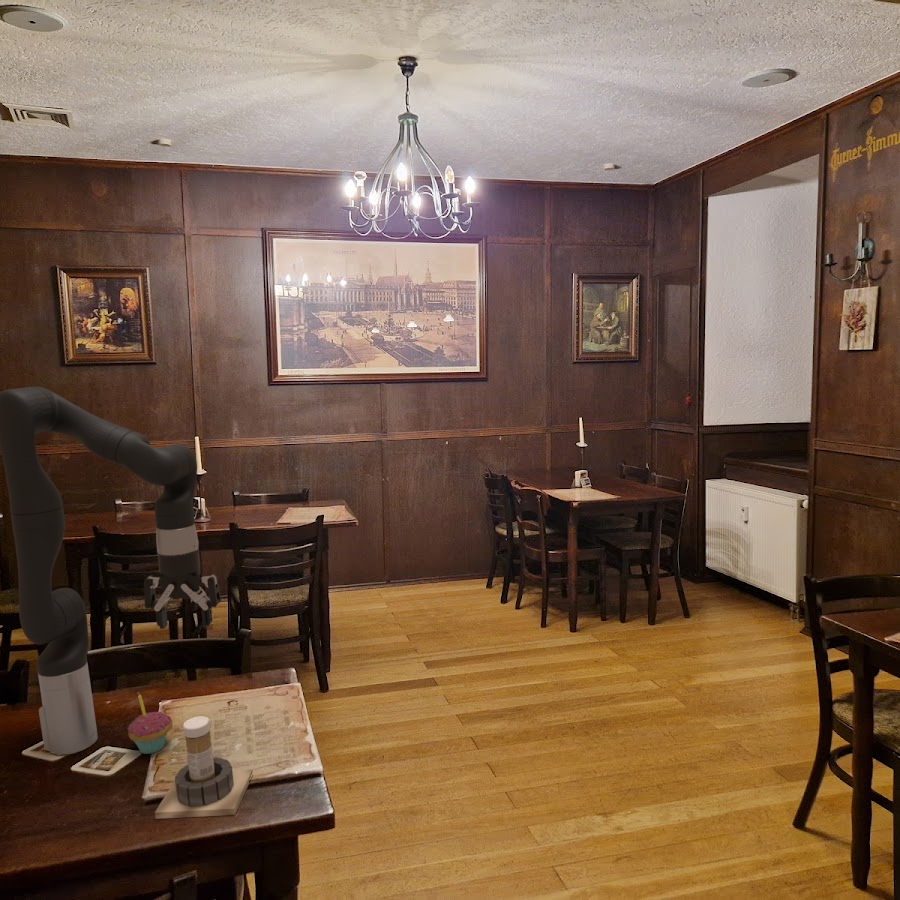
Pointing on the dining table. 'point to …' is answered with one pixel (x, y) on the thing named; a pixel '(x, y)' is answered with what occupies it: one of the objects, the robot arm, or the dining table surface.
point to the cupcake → (149, 730)
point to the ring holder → (205, 793)
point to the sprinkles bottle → (199, 749)
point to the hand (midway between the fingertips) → (185, 627)
